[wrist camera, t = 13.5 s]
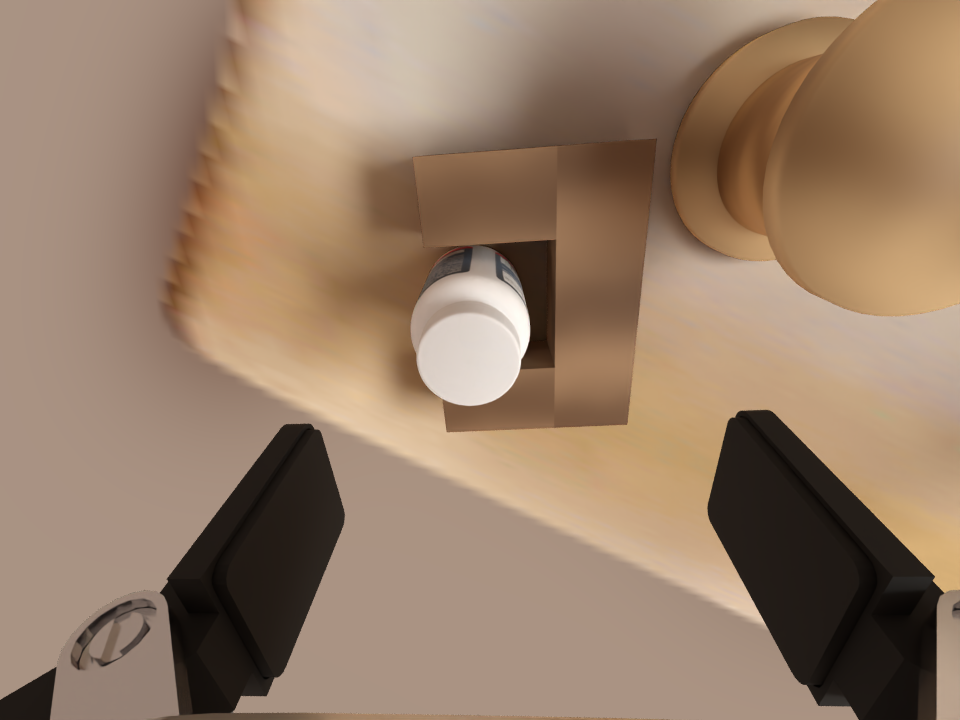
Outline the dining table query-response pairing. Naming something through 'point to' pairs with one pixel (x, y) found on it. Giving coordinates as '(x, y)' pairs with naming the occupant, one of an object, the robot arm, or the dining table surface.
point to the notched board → (554, 268)
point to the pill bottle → (470, 326)
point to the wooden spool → (835, 156)
